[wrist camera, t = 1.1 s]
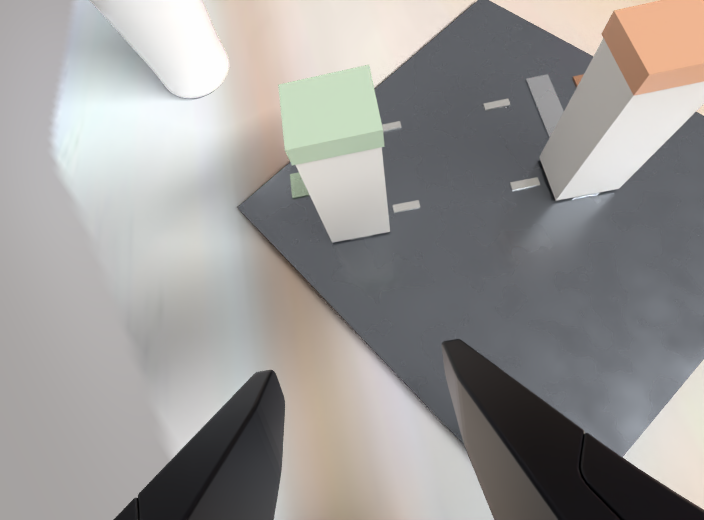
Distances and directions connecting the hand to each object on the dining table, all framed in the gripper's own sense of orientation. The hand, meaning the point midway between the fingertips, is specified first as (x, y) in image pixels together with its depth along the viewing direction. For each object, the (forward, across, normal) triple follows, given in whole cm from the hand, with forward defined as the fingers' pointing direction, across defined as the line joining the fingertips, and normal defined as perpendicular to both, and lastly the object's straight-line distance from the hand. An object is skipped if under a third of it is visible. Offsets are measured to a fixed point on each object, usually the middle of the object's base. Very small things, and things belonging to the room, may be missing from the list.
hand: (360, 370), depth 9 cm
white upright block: (+16, 0, +2) cm, 16 cm away
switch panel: (+15, -9, +2) cm, 18 cm away
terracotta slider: (+16, -13, +2) cm, 21 cm away
